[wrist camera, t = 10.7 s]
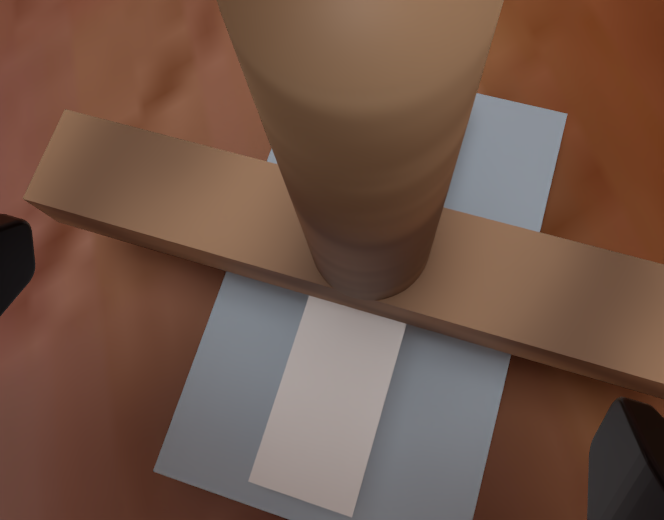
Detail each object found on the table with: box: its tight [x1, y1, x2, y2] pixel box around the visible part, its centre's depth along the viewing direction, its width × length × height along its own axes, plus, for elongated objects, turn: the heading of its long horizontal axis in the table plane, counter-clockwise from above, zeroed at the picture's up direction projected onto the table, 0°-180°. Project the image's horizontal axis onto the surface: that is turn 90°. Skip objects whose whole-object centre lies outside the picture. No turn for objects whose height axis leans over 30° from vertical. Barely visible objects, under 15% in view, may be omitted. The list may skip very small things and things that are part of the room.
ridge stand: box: [153, 93, 567, 520], centre depth 20 cm, size 16×10×4 cm, turn 163°
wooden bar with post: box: [23, 0, 664, 399], centre depth 12 cm, size 20×3×12 cm, turn 73°
